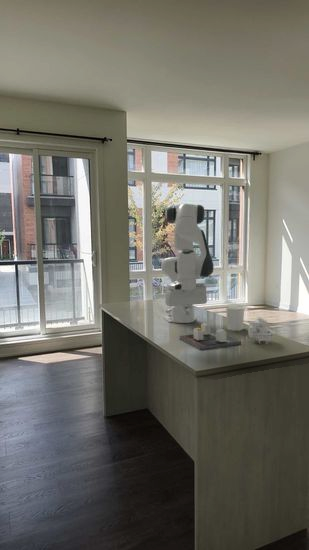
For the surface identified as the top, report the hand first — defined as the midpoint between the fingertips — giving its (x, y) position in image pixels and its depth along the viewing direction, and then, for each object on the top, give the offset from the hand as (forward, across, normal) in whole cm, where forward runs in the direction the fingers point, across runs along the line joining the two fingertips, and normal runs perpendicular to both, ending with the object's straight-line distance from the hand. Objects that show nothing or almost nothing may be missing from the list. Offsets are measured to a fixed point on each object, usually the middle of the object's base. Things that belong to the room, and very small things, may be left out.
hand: (186, 314), depth 164 cm
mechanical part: (+14, -34, +11) cm, 39 cm away
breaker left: (+12, -15, -7) cm, 20 cm away
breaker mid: (+12, -6, 0) cm, 14 cm away
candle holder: (+14, -39, -16) cm, 44 cm away
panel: (+14, -13, 0) cm, 19 cm away
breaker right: (+12, -14, +7) cm, 20 cm away
